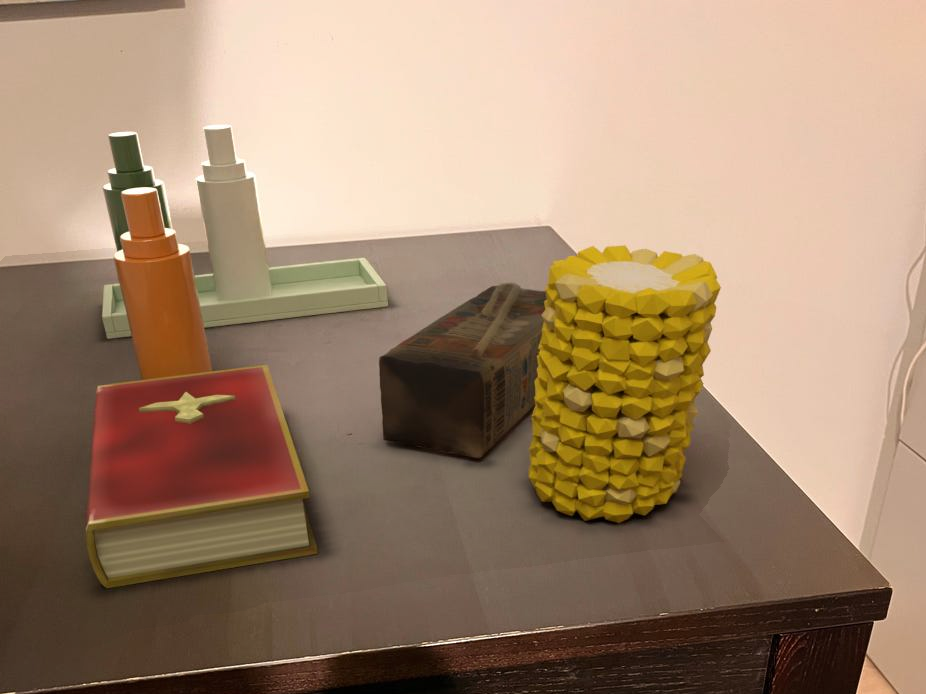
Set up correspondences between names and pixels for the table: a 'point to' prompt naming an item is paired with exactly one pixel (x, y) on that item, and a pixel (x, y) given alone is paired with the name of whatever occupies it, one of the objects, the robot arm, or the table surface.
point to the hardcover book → (193, 478)
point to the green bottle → (129, 182)
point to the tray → (274, 296)
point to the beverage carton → (465, 373)
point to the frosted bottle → (232, 220)
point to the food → (619, 378)
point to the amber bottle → (159, 292)
